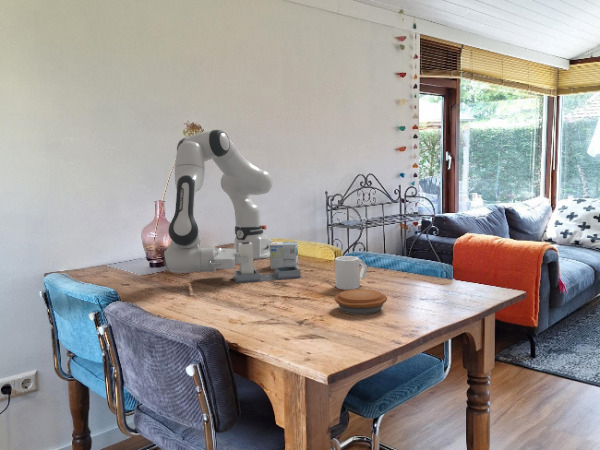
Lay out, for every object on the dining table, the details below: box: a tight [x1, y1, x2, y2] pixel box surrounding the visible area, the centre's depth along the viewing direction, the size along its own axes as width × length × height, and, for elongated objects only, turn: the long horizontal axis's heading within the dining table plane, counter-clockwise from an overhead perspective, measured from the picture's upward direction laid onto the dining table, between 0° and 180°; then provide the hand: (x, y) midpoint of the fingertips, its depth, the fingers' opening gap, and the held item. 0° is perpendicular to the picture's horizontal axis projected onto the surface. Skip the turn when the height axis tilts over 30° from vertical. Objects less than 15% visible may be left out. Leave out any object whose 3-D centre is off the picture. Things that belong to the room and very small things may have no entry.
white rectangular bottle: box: [239, 241, 255, 275], centre depth 204 cm, size 4×4×14 cm
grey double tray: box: [232, 266, 303, 285], centre depth 207 cm, size 24×12×4 cm, turn 103°
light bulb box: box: [269, 241, 299, 270], centre depth 224 cm, size 11×7×11 cm, turn 84°
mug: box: [334, 255, 368, 291], centre depth 194 cm, size 12×9×10 cm
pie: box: [333, 288, 388, 315], centre depth 165 cm, size 16×16×5 cm
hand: (248, 257), depth 204 cm, fingers closed on white rectangular bottle, 5 cm apart
